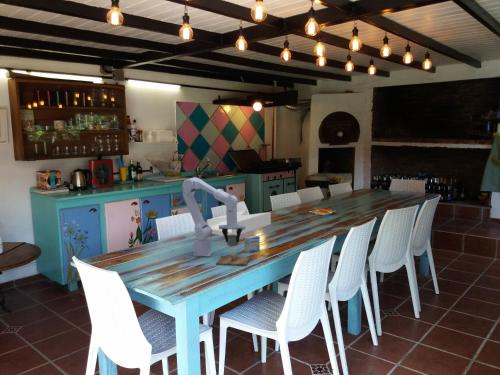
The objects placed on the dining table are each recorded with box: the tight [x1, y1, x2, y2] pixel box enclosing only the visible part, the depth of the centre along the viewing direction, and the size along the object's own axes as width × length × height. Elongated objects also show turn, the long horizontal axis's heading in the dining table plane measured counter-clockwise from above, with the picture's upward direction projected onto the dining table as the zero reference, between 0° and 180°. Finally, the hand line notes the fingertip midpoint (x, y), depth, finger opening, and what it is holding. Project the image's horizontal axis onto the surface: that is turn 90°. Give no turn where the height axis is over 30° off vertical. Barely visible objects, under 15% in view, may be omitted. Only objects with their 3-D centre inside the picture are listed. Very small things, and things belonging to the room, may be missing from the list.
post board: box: [215, 251, 251, 267], centre depth 215 cm, size 16×12×5 cm
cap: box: [226, 234, 239, 247], centre depth 222 cm, size 5×5×6 cm
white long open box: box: [206, 208, 272, 237], centre depth 289 cm, size 45×22×10 cm, turn 143°
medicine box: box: [243, 234, 261, 254], centre depth 233 cm, size 8×4×9 cm, turn 126°
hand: (232, 242), depth 222 cm, fingers closed on cap, 5 cm apart
